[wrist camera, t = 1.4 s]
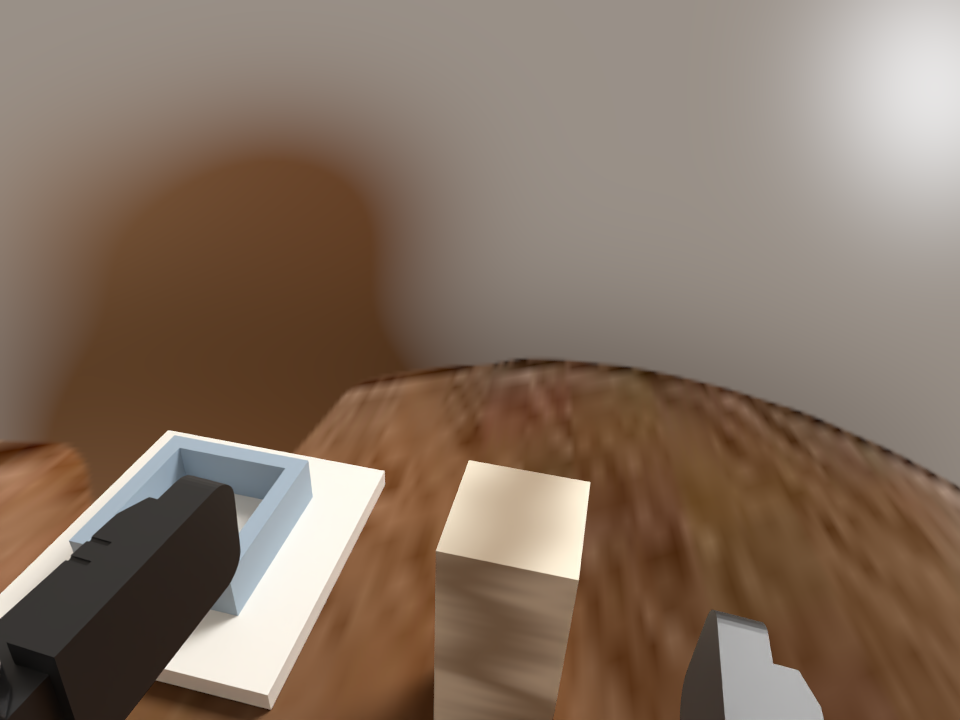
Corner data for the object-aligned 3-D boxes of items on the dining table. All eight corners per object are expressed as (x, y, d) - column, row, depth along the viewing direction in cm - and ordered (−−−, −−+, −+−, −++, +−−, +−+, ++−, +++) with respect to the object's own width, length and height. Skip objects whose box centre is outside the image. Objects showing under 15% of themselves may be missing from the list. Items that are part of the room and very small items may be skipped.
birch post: (555, 675, 33) (590, 482, 26) (542, 777, 29) (578, 580, 22) (460, 653, 34) (469, 460, 27) (433, 749, 30) (436, 550, 23)
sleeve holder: (385, 484, 44) (383, 435, 42) (271, 709, 31) (259, 655, 29) (171, 443, 47) (159, 395, 45) (-18, 635, 34) (-50, 580, 32)
